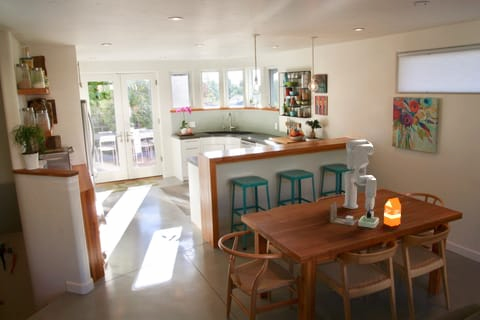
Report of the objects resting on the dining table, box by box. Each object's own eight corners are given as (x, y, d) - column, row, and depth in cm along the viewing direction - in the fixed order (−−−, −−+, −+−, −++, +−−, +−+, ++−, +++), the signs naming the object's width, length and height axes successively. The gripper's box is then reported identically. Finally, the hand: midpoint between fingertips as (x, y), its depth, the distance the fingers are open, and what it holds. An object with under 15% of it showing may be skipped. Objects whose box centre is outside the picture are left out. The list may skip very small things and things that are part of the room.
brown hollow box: (335, 217, 314) (336, 201, 311) (357, 221, 305) (358, 204, 302) (329, 223, 302) (330, 206, 299) (352, 227, 293) (352, 209, 290)
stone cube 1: (367, 216, 302) (367, 210, 301) (373, 216, 299) (373, 211, 298) (365, 217, 298) (366, 212, 297) (371, 218, 296) (372, 213, 295)
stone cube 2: (347, 221, 304) (347, 215, 303) (353, 222, 302) (353, 216, 301) (345, 222, 300) (345, 217, 300) (351, 223, 298) (351, 218, 297)
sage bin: (362, 220, 306) (363, 215, 306) (378, 223, 300) (379, 218, 299) (358, 226, 295) (358, 221, 294) (374, 229, 289) (374, 223, 288)
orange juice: (383, 223, 300) (384, 198, 296) (392, 221, 303) (393, 196, 299) (391, 226, 293) (392, 200, 289) (400, 224, 296) (401, 199, 292)
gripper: (368, 190, 304) (367, 213, 308) (362, 196, 290) (361, 219, 294) (378, 191, 300) (377, 214, 304) (373, 197, 286) (372, 221, 290)
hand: (369, 216), depth 299 cm, fingers closed on stone cube 1, 4 cm apart
